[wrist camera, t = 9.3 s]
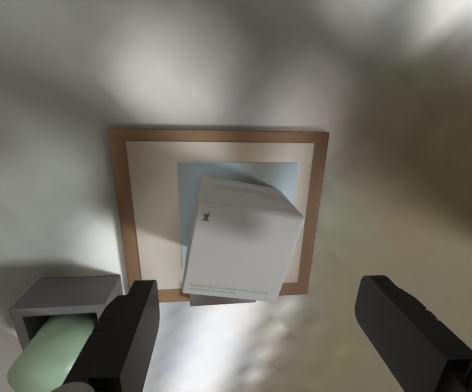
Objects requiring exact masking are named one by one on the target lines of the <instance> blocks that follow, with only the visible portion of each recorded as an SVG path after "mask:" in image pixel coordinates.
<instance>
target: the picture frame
mask: <svg viewBox="0 0 472 392" xmlns="http://www.w3.org/2000/svg"><path fill="white" fill-rule="evenodd" d="M108 136H109V143H110V151H111V158H112V165H113V173H114V180H115V187H116V195H117V202H118V209H119V217H120V224H121V231H122V239H123V246H124V253H125V261H126V268H127V275H128V283H129V290H130V288H131V286H132V284H133V282H134V281H135V280H156V281H157V286H158V298H159V303H161V302H178V301H190V306H201V305H218V304H234V303H251V302H256V300H249V299H239V298H229V297H219V296H209V295H198V294H188V293H183V292H182V284H183V275H184V267H185V260H186V253H187V246H188V240H189V234H190V229H191V223H192V218H193V213H194V208H195V203H196V198H197V194H198V189H199V185H200V180H201V177H202V175H205V176H211V177H217V178H222V179H228V180H233V181H238V182H244V183H249V184H254V185H259V186H265V187H270V188H274V189H278V190H280V191H281V192H282V193H283V194H284V195H285V196H286V197H287V199H288V200H289V201H290V202H291V203H292V204H293V205H294V206H295V207H296V209H297V210H298V211H299V212H300V213H301V214H302V215H303V216H304V218H305V221H304V224H303V227H302V229H301V232H300V235H299V238H298V240H297V243H296V246H295V248H294V251H293V254H292V257H291V259H290V262H289V265H288V268H287V272H286V275H285V278H284V281H283V284H282V287H281V290H280V292H279V295H278V296H281V295H298V294H307V291H308V284H309V277H310V270H311V262H312V255H313V248H314V241H315V233H316V226H317V219H318V211H319V204H320V197H321V190H322V182H323V175H324V168H325V161H326V153H327V146H328V139H329V132H296V131H234V130H172V129H108Z"/></svg>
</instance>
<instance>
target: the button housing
mask: <svg viewBox="0 0 472 392" xmlns="http://www.w3.org/2000/svg"><path fill="white" fill-rule="evenodd" d="M118 295H123V290H122V283H121V276H120V275H115V276H93V277H71V278H50V279H39V280H38V281H37V282H36V283H35V284H34V285H33V286H32V287H31V288H30V289H29V290H28V291H27V292H26V293H25V294H24V295H23V296H22V297H21V298H20V299H19V300H18V301H17V302H16V303H15V304H14V305H13V306H12V307H11V308H10V309H9V311H10V314H11V317H12V320H13V323H14V326H15V329H16V332H17V335H18V338H19V341H20V344H21V347H22V350H24V349H25V348H26V347H27V345H28V344H29V343H30V341H31V340H32V339H33V337H34V336H35V335H36V334H37V332H38V331H39V330H40V328H41V327H42V326H43V325H44V323H45V322H46V321H47V319H48V318H49V317H50V315H61V314H77V313H93V312H96V313H97V318H98V319H99V318H100V316H101V314H102V312H103V311H104V309H105V307H106V306H107V305H108V304H109V303H110V302H111V301H112V300H113V299H115V298H116V297H117V296H118Z"/></svg>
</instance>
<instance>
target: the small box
mask: <svg viewBox="0 0 472 392" xmlns="http://www.w3.org/2000/svg"><path fill="white" fill-rule="evenodd" d="M304 221H305V218H304V216H303V215H302V214H301V213H300V212H299V211H298V210H297V209H296V207H295V206H294V205H293V204H292V203H291V202H290V201H289V200H288V199H287V197H286V196H285V195H284V194H283V193H282V192H281V191H280V190H278V189H274V188H270V187H265V186H259V185H254V184H249V183H244V182H238V181H233V180H228V179H222V178H217V177H211V176H205V175H202V177H201V180H200V185H199V189H198V194H197V198H196V203H195V208H194V213H193V218H192V223H191V229H190V234H189V240H188V246H187V253H186V260H185V267H184V275H183V284H182V292H183V293H188V294H198V295H209V296H219V297H229V298H239V299H249V300H258V301H267V302H276V301H277V298H278V295H279V292H280V290H281V287H282V284H283V281H284V278H285V275H286V272H287V268H288V265H289V262H290V259H291V257H292V254H293V251H294V248H295V246H296V243H297V240H298V238H299V235H300V232H301V229H302V227H303V224H304Z"/></svg>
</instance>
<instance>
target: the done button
mask: <svg viewBox="0 0 472 392" xmlns="http://www.w3.org/2000/svg"><path fill="white" fill-rule="evenodd" d="M97 322H98V318H97V313H96V312H93V313H77V314H61V315H50V317H49V318H48V319H47V321H46V322H45V323H44V325H43V326H42V327H41V328H40V330H39V331H38V332H37V334H36V335H35V336H34V337H33V339H32V340H31V341H30V343H29V344H28V345H27V347H26V348H25V349H24V350H23V352H22V353H21V354H20V356H19V357H18V358H17V360H16V361H15V362H14V364H13V365H12V366H11V367H10V369H9V371H8V375H7V377H8V382H9V384H10V386H11V387H12V389H13V390H14V391H16V392H51V391H52V390H54V389H56V388H58V387H60V386H61V385H62V383H63V382H64V380H65V378H66V377H67V375H68V373H69V371H70V370H71V368H72V366H73V364H74V362H75V361H76V359H77V357H78V355H79V353H80V352H81V350H82V348H83V346H84V345H85V343H86V341H87V339H88V337H89V336H90V334H92V330H93V328H94V327H95V325H96V323H97Z"/></svg>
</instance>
